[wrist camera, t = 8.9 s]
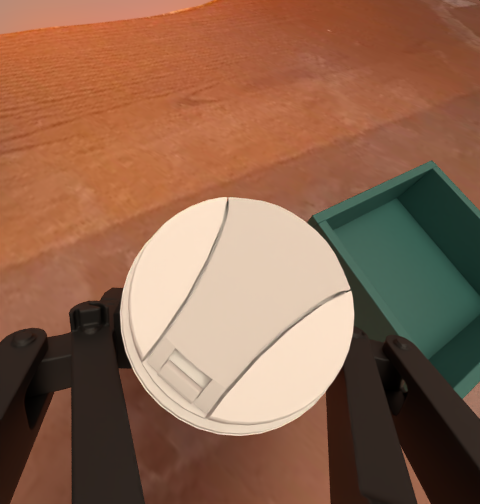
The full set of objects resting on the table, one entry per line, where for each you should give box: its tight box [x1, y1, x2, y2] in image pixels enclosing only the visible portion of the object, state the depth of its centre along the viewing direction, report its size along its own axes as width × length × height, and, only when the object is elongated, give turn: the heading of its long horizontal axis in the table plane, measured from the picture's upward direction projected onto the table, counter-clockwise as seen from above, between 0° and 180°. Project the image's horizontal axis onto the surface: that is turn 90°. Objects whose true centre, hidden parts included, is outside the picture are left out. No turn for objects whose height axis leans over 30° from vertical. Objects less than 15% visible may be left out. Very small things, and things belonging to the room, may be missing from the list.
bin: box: [307, 161, 480, 399], centre depth 24 cm, size 16×16×6 cm
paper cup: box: [120, 197, 354, 436], centre depth 14 cm, size 8×8×14 cm
